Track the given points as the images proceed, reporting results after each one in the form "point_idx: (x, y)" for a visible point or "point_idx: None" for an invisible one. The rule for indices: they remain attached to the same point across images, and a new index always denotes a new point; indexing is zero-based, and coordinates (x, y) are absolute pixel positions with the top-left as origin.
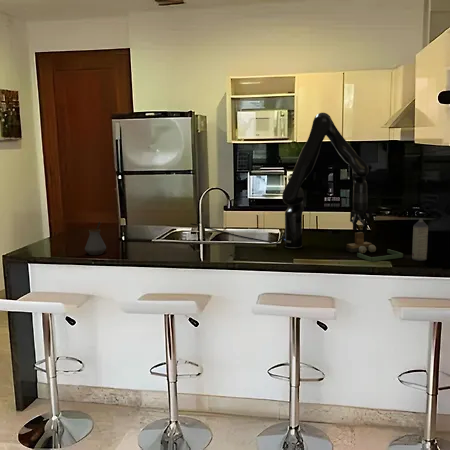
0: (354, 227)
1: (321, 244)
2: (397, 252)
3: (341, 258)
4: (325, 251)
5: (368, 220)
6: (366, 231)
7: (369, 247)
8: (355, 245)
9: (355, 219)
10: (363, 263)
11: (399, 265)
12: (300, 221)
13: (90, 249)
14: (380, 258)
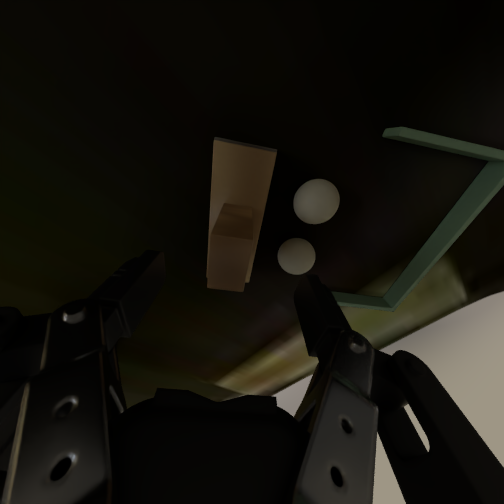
0: (151, 294)
1: (52, 260)
2: (482, 155)
3: (287, 329)
4: (184, 313)
5: (450, 447)
6: (326, 292)
7: (313, 223)
8: (252, 265)
9: (114, 413)
10: (371, 323)
11: (492, 272)
12: (5, 480)
13: None
14: (412, 277)
